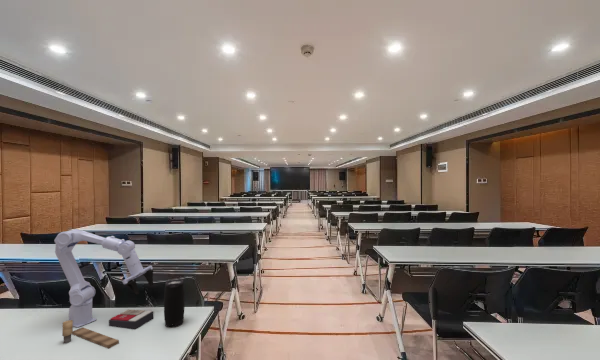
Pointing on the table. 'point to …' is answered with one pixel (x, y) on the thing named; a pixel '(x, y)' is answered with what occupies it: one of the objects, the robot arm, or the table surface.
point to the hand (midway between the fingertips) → (145, 289)
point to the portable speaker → (174, 302)
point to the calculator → (131, 319)
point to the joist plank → (96, 337)
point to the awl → (67, 330)
